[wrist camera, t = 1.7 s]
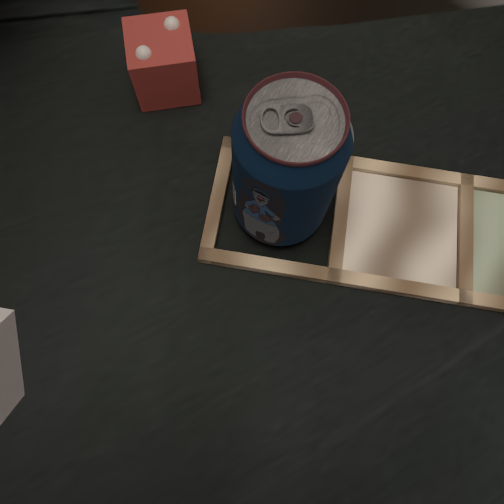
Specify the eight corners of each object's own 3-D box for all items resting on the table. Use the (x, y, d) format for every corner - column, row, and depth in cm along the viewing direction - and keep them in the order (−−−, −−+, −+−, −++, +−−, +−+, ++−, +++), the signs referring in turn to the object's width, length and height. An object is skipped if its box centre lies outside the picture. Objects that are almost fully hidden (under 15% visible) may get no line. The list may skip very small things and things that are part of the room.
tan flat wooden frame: (198, 262, 33) (197, 258, 32) (224, 141, 36) (223, 136, 36) (599, 328, 32) (608, 326, 31) (588, 198, 35) (595, 193, 35)
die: (142, 112, 37) (125, 64, 32) (136, 64, 39) (119, 11, 33) (201, 103, 37) (194, 55, 32) (193, 56, 39) (185, 3, 34)
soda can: (317, 168, 36) (352, 59, 24) (327, 249, 34) (371, 171, 22) (231, 172, 36) (226, 64, 24) (236, 254, 33) (233, 177, 22)
